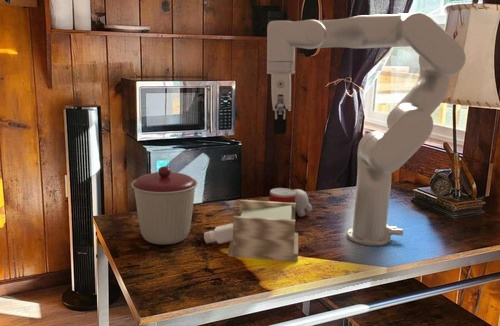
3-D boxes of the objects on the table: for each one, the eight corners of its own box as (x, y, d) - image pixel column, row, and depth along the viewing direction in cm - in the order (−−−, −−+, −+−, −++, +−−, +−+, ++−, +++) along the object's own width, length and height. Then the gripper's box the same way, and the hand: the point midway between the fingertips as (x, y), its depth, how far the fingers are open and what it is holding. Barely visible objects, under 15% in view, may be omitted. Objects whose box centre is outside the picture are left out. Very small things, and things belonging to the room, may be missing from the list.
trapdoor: (292, 211, 140) (291, 205, 139) (291, 227, 128) (290, 219, 128) (243, 217, 142) (242, 210, 141) (238, 232, 130) (237, 225, 129)
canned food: (292, 230, 149) (294, 196, 147) (266, 228, 151) (267, 193, 148) (295, 222, 157) (297, 189, 154) (270, 219, 158) (271, 186, 155)
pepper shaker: (237, 221, 138) (205, 228, 139) (234, 226, 134) (202, 234, 136) (241, 234, 138) (209, 241, 140) (239, 239, 135) (206, 247, 136)
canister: (129, 229, 146) (127, 160, 141) (189, 224, 152) (189, 157, 147) (137, 254, 130) (135, 177, 125) (204, 246, 136) (204, 172, 131)
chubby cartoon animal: (275, 221, 164) (268, 199, 161) (304, 204, 168) (297, 182, 165) (287, 228, 158) (279, 206, 155) (316, 210, 162) (309, 188, 159)
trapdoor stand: (297, 239, 143) (299, 203, 140) (297, 261, 129) (299, 221, 126) (234, 235, 145) (235, 199, 142) (227, 256, 130) (228, 217, 128)
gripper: (295, 69, 125) (294, 136, 129) (293, 66, 141) (292, 125, 146) (266, 69, 125) (265, 136, 129) (267, 66, 142) (267, 125, 146)
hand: (280, 130), depth 137 cm, fingers open, 9 cm apart
